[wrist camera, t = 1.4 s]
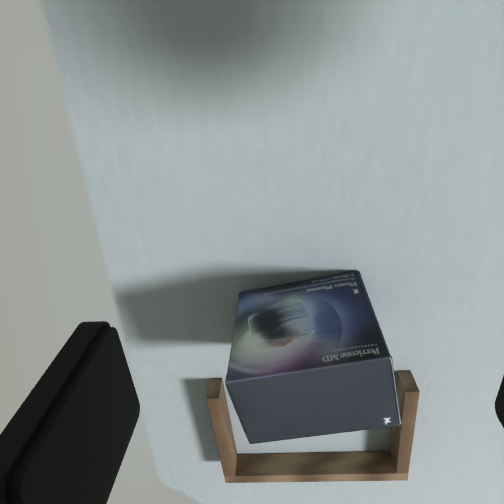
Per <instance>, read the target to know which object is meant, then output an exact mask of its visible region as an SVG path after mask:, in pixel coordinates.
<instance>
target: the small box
mask: <svg viewBox="0 0 504 504" xmlns="http://www.w3.org/2000/svg"><path fill="white" fill-rule="evenodd" d="M225 384H226V387H227V390H228V393H229V396H230V398H231V401H232V403H233V405H234V408H235V410H236V413H237V415H238V417H239V420H240V422H241V425H242V427H243V429H244V432H245V434H246V436H247V439H248V441H249V443H250V444H255V443H263V442H271V441H279V440H286V439H295V438H303V437H311V436H320V435H328V434H335V433H343V432H352V431H359V430H368V429H377V428H385V427H393V426H399V425H400V424H401V418H400V411H399V404H398V397H397V390H396V382H395V376H394V369H393V361H392V357H391V355H390V353H389V350H388V348H387V345H386V342H385V340H384V337H383V334H382V331H381V329H380V326H379V323H378V321H377V318H376V316H375V313H374V310H373V308H372V305H371V302H370V299H369V297H368V294H367V292H366V289H365V286H364V283H363V280H362V278H361V275H360V272H359V271H352V272H347V273H342V274H337V275H332V276H327V277H322V278H316V279H311V280H306V281H301V282H295V283H290V284H284V285H279V286H274V287H269V288H264V289H258V290H253V291H247V292H242V293H240V294H239V302H238V308H237V314H236V321H235V328H234V334H233V340H232V346H231V352H230V359H229V365H228V372H227V376H226V381H225Z"/></svg>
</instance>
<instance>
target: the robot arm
mask: <svg viewBox="0 0 504 504" xmlns="http://www.w3.org/2000/svg"><path fill="white" fill-rule="evenodd" d="M495 410H496V414H497V417H498V419H499V421H500V422H501V424H502V426H503V427H504V376H503V379H502V383H501V386H500V389H499V392H498V395H497V398H496V401H495ZM139 412H140V404H139V400H138V397H137V394H136V390H135V387H134V384H133V381H132V377H131V374H130V371H129V368H128V364H127V361H126V358H125V355H124V352H123V348H122V345H121V342H120V339H119V335H118V332H117V330H116V329H115V328H114V327H110V325H109V323H108V322H104V321H102V322H82V323H80V324H79V325H78V327H77V328H76V329H75V331H74V332H73V334H72V335H71V337H70V338H69V339H68V341H67V342H66V343H65V345H64V346H63V348H62V349H61V350H60V352H59V353H58V355H57V356H56V357H55V359H54V361H53V362H52V363H51V365H50V366H49V367H48V369H47V370H46V371H45V373H44V374H43V376H42V377H41V378H40V380H39V381H38V383H37V384H36V385H35V387H34V388H33V390H32V391H31V392H30V394H29V395H28V397H27V398H26V399H25V401H24V402H23V404H22V405H21V406H20V408H19V409H18V411H17V412H16V414H15V415H14V416H13V418H12V419H11V420H10V422H9V423H8V425H7V426H6V428H5V429H4V430H3V432H2V433H1V434H0V504H106V503H107V500H108V498H109V495H110V492H111V490H112V487H113V484H114V482H115V479H116V476H117V473H118V471H119V468H120V466H121V463H122V460H123V457H124V455H125V452H126V449H127V447H128V444H129V442H130V439H131V436H132V434H133V431H134V428H135V426H136V423H137V420H138V417H139Z"/></svg>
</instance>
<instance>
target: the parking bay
mask: <svg viewBox="0 0 504 504" xmlns="http://www.w3.org/2000/svg"><path fill="white" fill-rule="evenodd" d="M396 390H397V397H398V404H399V411H400V418H401V424H400V425H399V426H393V427H392V434H391V444H390V451H374V452H326V453H278V454H237V451H236V446H235V441H234V436H233V431H232V426H231V421H230V416H229V411H228V406H227V401H226V396H225V391H224V386H223V381H222V378H216V379H210V382H209V387H208V393H207V398H206V400H207V404H208V409H209V413H210V417H211V422H212V426H213V430H214V434H215V439H216V443H217V447H218V452H219V456H220V460H221V464H222V469H223V473H224V477H225V482H226V483H245V482H318V481H392V480H407V478H408V471H409V464H410V456H411V449H412V442H413V435H414V427H415V420H416V413H417V405H418V398H419V389H418V387H417V385H416V382H415V380H414V378H413V375H412V373H411V371H397V382H396Z"/></svg>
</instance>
